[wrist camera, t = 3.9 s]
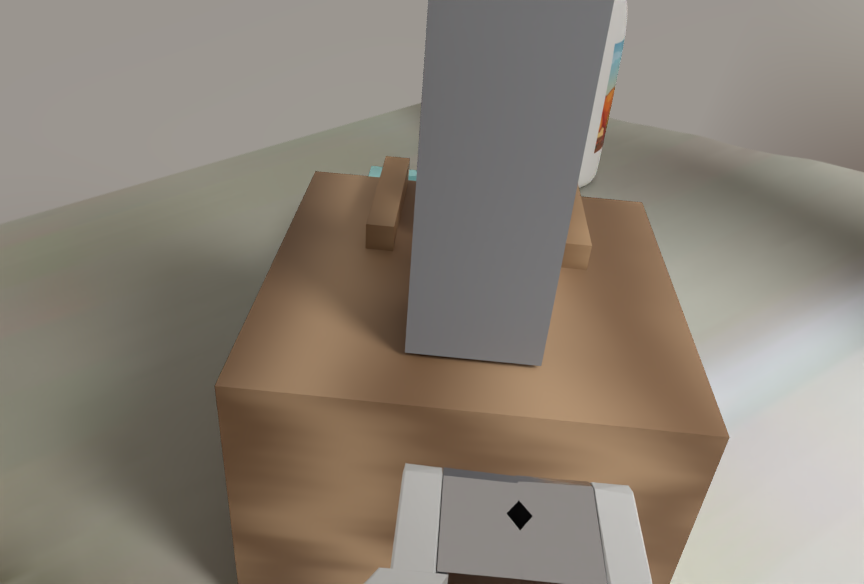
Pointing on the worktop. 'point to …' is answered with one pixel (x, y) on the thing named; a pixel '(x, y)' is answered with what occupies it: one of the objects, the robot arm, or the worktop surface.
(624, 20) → the milk bottle
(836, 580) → the worktop surface
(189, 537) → the worktop surface
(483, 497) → the robot arm
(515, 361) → the dome-capped grey pillar
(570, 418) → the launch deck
